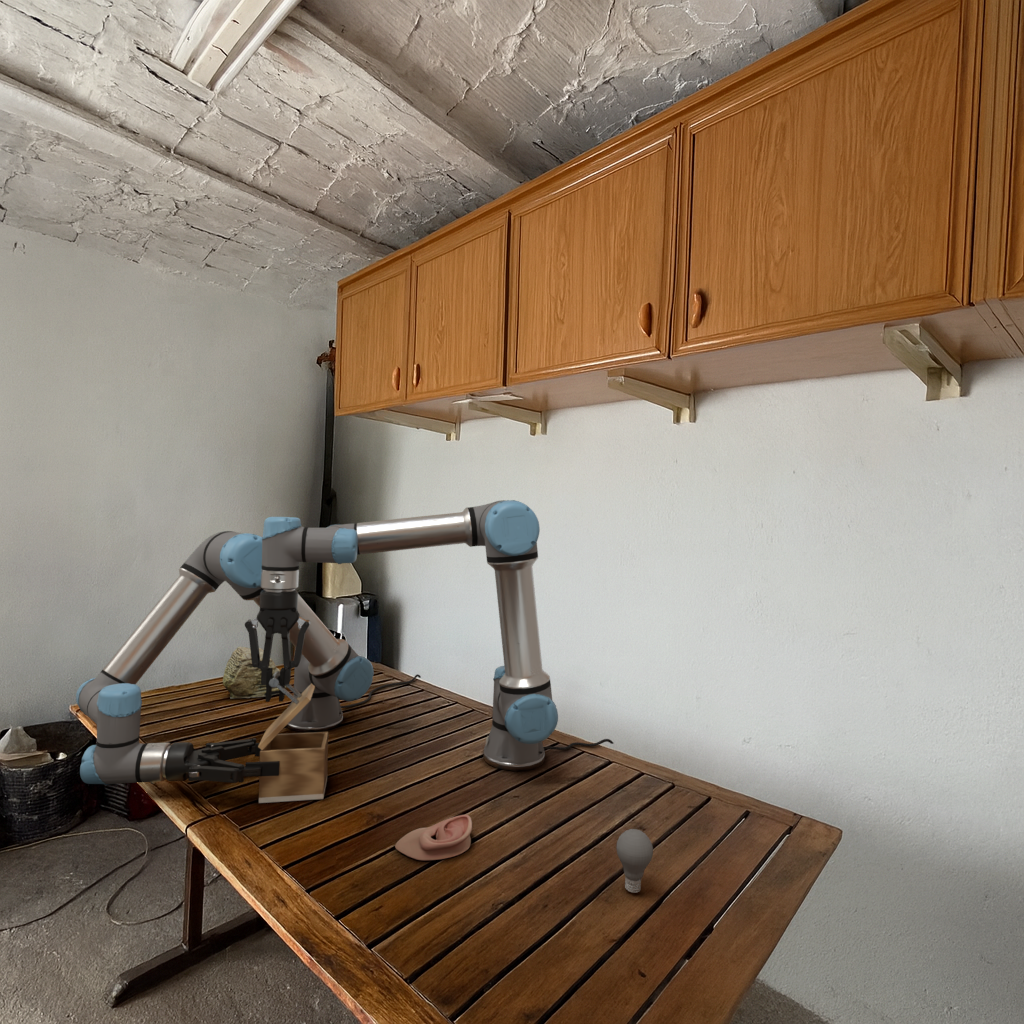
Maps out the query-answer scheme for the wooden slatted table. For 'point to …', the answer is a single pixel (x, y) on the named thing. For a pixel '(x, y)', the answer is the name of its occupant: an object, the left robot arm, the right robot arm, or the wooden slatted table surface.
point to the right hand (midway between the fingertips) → (275, 699)
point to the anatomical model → (438, 839)
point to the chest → (295, 767)
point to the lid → (289, 712)
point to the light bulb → (634, 857)
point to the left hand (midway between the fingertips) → (282, 758)
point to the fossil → (245, 675)
